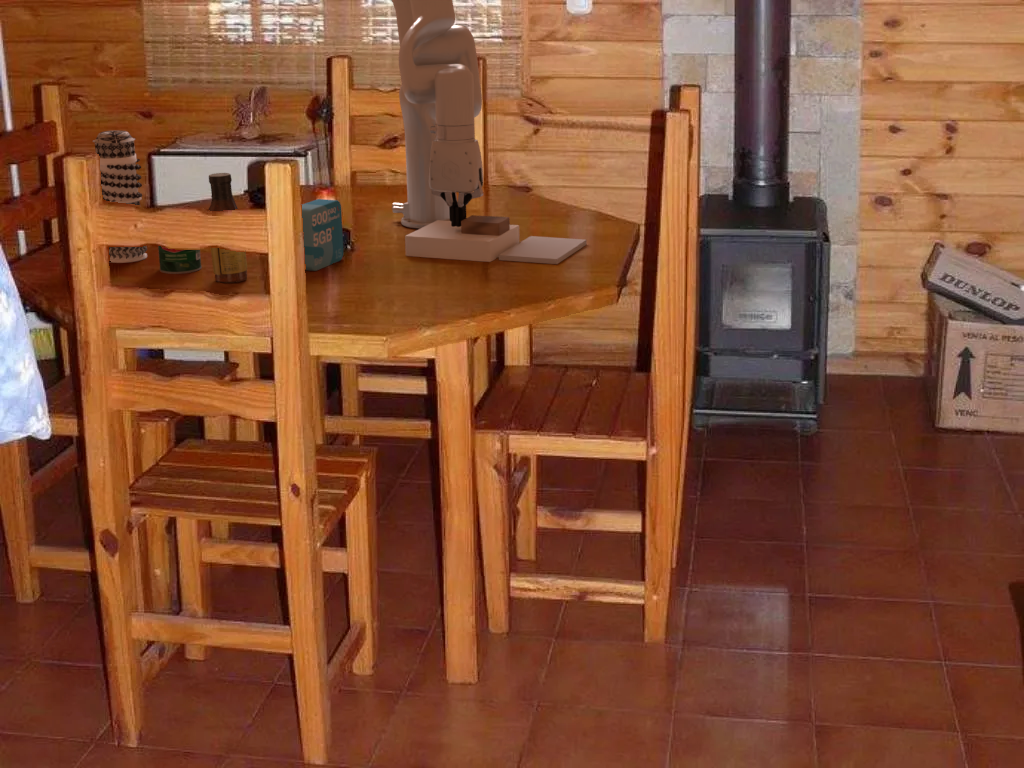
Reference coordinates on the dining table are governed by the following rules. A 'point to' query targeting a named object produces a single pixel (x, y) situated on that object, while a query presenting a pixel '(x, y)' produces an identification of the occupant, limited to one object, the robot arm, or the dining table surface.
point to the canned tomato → (179, 260)
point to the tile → (485, 225)
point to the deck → (458, 243)
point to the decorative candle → (120, 182)
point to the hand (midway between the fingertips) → (458, 225)
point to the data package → (322, 233)
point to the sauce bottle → (224, 261)
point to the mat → (543, 250)
